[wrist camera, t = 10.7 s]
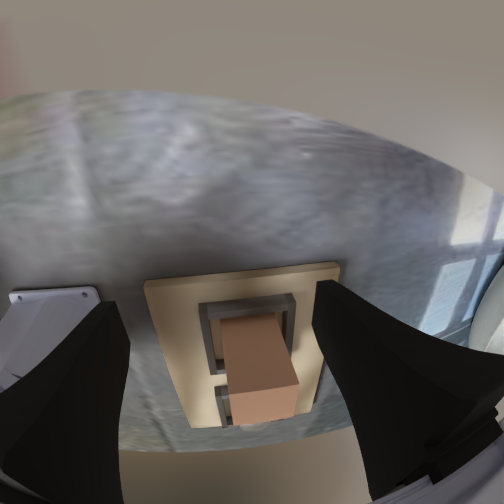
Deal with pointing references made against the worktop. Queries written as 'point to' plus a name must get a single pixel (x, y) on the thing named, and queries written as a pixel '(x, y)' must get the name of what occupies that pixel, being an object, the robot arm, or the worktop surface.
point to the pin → (255, 426)
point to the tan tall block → (258, 369)
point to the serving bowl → (490, 319)
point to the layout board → (209, 331)
